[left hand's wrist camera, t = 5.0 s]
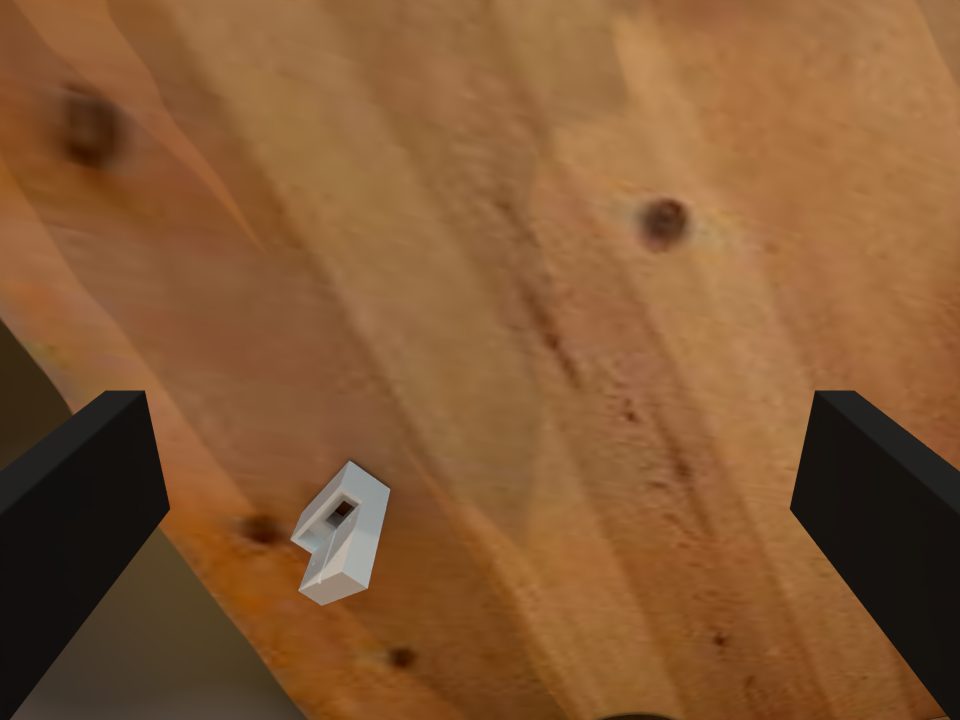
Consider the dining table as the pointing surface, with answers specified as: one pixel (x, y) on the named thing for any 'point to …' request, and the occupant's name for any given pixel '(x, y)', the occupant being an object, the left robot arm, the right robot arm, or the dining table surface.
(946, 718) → the block
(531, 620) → the dining table surface
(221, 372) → the dining table surface
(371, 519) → the white wedge bracket
